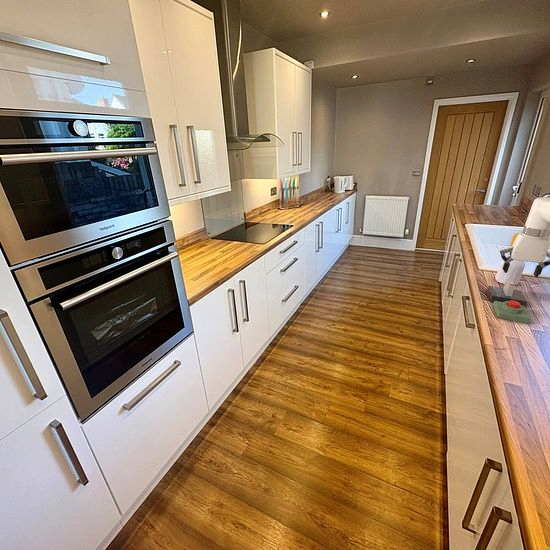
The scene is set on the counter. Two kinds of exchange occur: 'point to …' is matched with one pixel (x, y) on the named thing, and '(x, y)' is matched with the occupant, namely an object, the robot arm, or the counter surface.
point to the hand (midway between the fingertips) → (519, 273)
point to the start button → (513, 304)
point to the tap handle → (509, 287)
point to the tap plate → (500, 296)
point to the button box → (511, 312)
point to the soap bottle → (511, 269)
